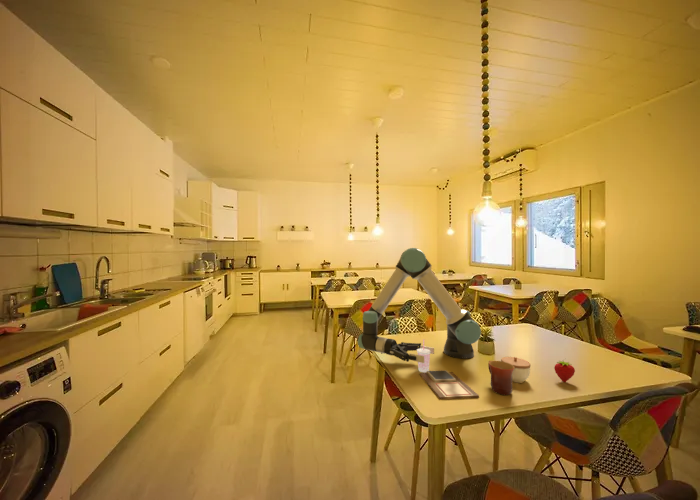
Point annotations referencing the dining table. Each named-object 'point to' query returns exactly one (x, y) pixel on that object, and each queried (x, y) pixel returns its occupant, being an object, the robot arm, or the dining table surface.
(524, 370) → the lidded jar
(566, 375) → the strawberry
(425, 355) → the beverage cup
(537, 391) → the dining table surface
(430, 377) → the stamp board
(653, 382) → the dining table surface
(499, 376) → the mug
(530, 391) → the dining table surface
